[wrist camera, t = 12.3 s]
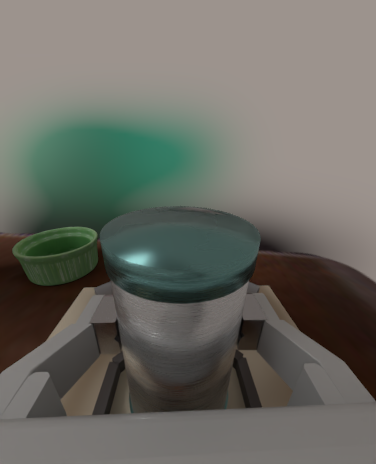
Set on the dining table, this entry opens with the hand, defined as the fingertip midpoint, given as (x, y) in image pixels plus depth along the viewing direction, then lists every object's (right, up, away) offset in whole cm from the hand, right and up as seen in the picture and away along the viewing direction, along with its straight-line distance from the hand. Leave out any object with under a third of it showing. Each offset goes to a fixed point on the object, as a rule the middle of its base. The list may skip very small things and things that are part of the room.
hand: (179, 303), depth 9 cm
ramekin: (-16, -2, +16) cm, 23 cm away
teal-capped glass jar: (0, -5, +1) cm, 6 cm away
